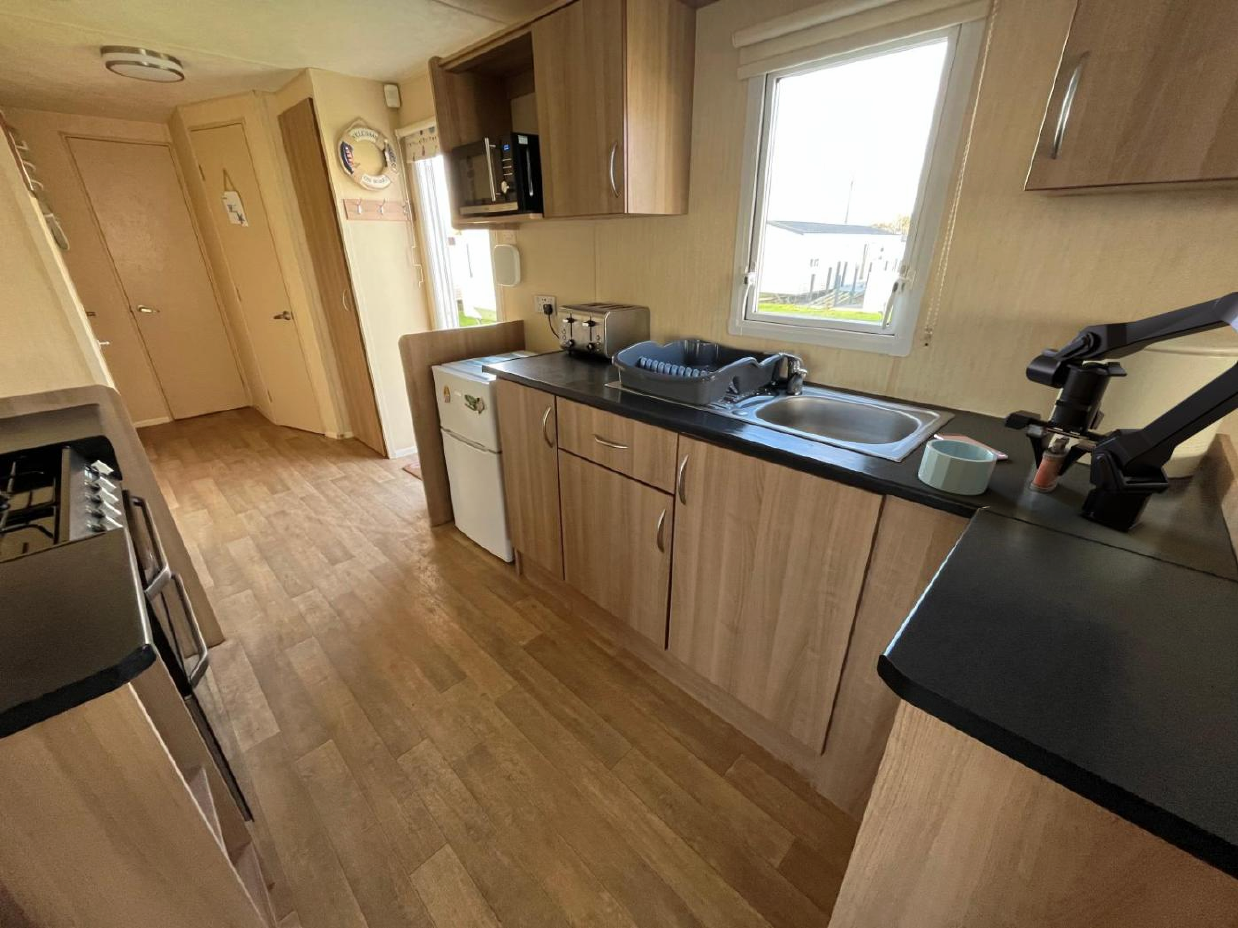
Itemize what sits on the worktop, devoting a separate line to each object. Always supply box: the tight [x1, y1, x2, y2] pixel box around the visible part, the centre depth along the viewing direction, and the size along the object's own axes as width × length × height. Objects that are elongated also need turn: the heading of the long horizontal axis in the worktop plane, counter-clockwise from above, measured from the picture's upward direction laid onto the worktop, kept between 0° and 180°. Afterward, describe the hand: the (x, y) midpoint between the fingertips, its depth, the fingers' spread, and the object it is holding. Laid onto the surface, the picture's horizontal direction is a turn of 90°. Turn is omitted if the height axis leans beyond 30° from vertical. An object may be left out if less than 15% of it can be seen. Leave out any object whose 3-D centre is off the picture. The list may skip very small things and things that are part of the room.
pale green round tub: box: [917, 438, 998, 496], centre depth 97 cm, size 12×12×7 cm
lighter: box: [1029, 436, 1071, 493], centre depth 95 cm, size 8×3×10 cm, turn 126°
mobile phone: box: [933, 432, 1009, 461], centre depth 115 cm, size 8×1×15 cm
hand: (1049, 472), depth 96 cm, fingers closed on lighter, 3 cm apart
